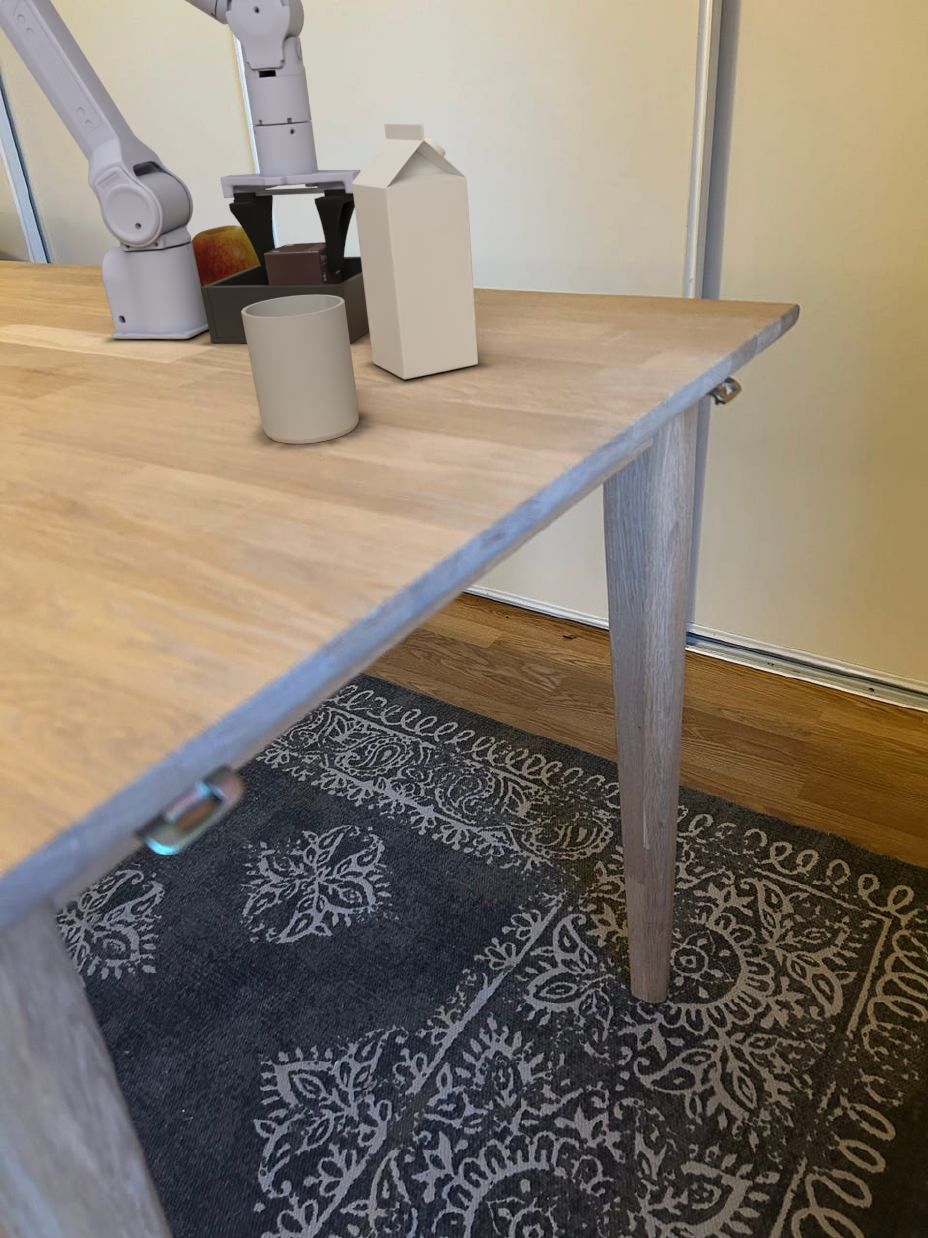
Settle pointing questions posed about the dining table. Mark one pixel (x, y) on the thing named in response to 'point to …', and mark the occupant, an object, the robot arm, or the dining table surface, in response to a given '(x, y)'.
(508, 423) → the dining table surface
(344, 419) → the cup
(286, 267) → the box
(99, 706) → the dining table surface
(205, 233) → the fruit
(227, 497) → the dining table surface
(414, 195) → the milk carton
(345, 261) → the dark grey square container
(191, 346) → the dining table surface
